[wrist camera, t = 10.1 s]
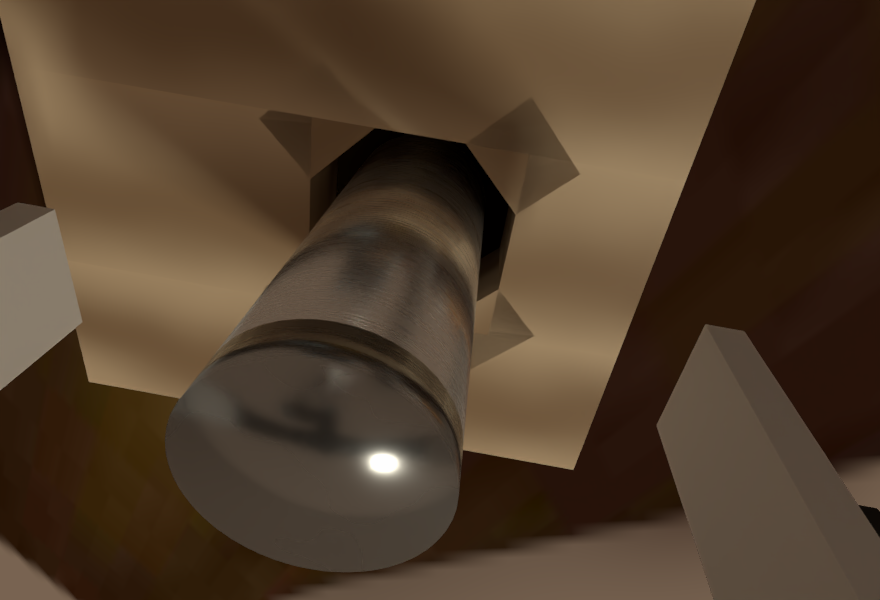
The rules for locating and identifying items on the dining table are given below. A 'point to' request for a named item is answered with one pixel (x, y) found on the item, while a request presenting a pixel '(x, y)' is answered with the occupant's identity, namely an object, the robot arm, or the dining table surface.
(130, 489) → the dining table surface
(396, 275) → the grey metallic cylinder
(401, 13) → the jig
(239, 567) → the dining table surface
